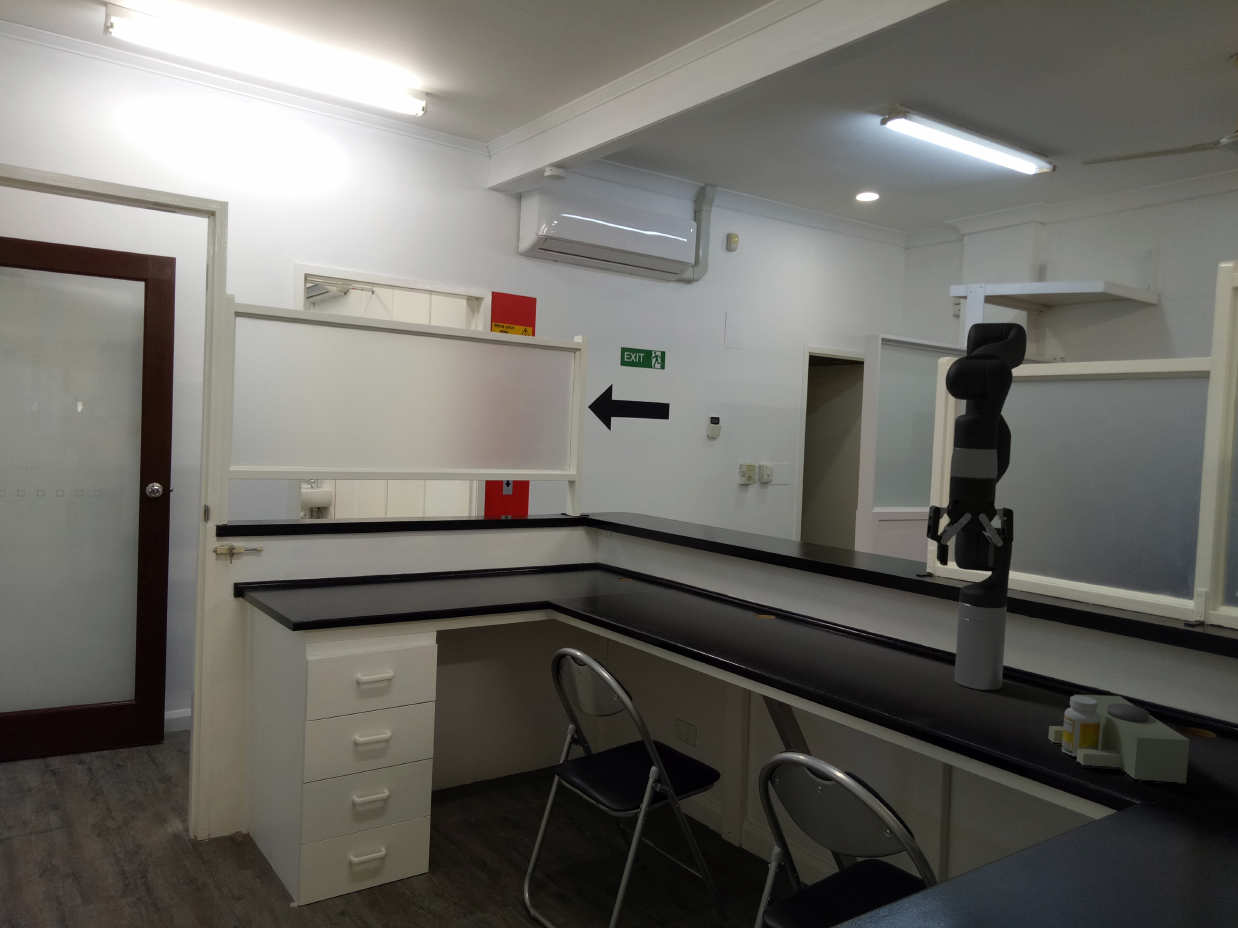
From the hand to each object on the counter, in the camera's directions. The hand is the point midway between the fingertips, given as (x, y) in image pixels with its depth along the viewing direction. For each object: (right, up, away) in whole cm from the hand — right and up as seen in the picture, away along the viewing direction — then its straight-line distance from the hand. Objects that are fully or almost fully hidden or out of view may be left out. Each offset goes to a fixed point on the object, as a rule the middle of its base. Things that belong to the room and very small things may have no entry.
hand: (967, 565), depth 152 cm
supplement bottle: (+16, -31, -7) cm, 36 cm away
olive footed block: (+21, -31, -7) cm, 38 cm away
